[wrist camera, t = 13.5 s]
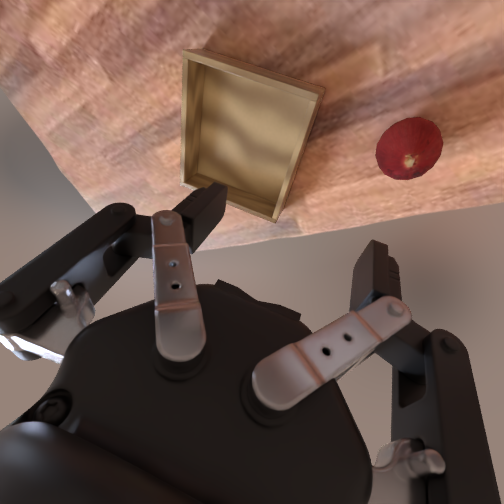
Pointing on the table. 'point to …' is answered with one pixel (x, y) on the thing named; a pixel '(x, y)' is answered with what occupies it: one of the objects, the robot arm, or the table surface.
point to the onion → (409, 148)
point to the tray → (243, 130)
